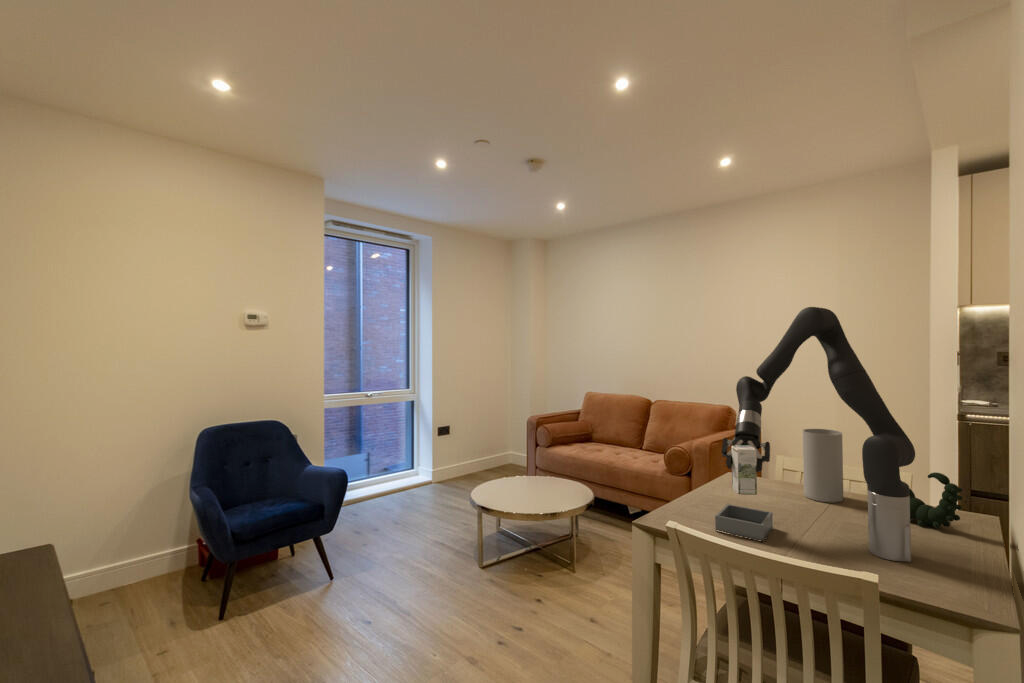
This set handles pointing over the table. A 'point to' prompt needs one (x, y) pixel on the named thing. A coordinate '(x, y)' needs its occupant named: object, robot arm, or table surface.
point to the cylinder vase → (823, 465)
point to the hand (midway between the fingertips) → (743, 469)
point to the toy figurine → (943, 510)
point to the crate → (744, 522)
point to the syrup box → (744, 470)
